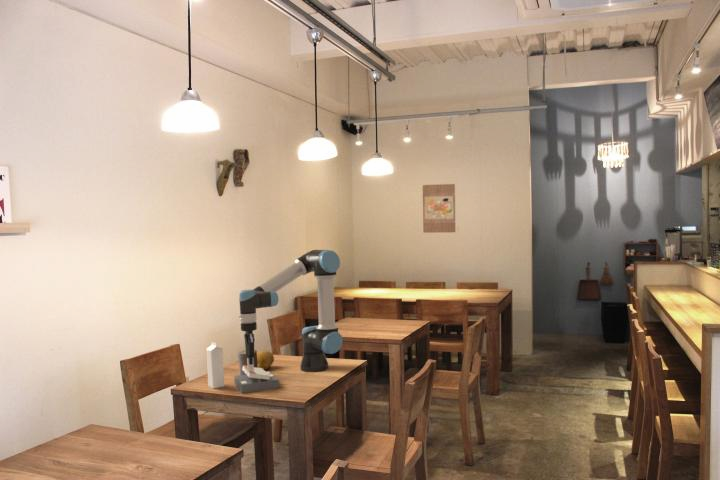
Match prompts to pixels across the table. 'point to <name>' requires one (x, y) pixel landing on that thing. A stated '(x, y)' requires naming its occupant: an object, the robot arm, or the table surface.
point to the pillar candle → (245, 360)
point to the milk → (215, 366)
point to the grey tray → (255, 383)
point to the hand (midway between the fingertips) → (250, 370)
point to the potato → (264, 359)
